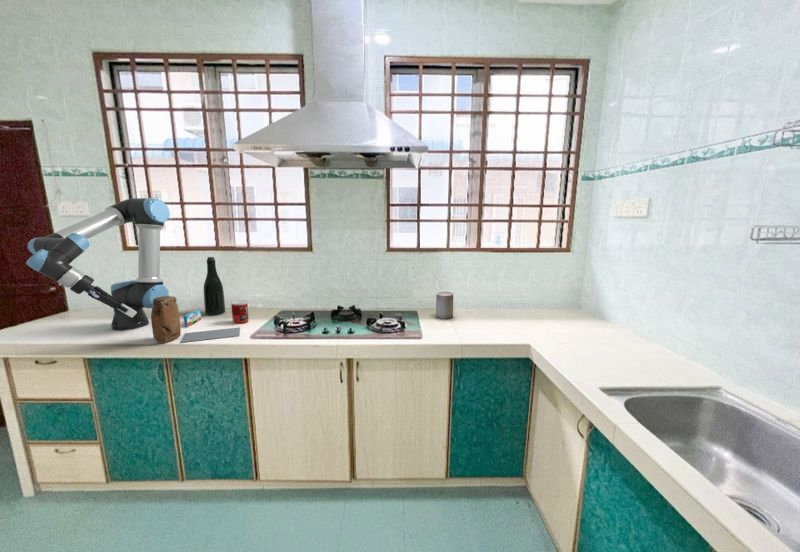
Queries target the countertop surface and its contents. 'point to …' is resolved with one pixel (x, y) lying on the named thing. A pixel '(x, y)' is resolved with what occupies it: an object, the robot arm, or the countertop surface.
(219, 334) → the mat
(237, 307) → the canned food
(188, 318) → the blue snack box
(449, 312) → the pillar candle
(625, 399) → the countertop surface
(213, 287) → the beer bottle
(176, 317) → the brown lumpy oval piece
